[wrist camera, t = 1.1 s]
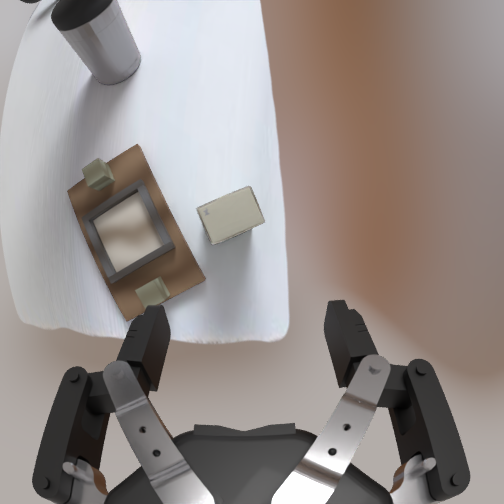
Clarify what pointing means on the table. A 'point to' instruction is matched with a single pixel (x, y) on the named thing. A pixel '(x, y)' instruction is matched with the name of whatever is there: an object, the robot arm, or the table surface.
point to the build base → (133, 233)
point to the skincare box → (230, 215)
